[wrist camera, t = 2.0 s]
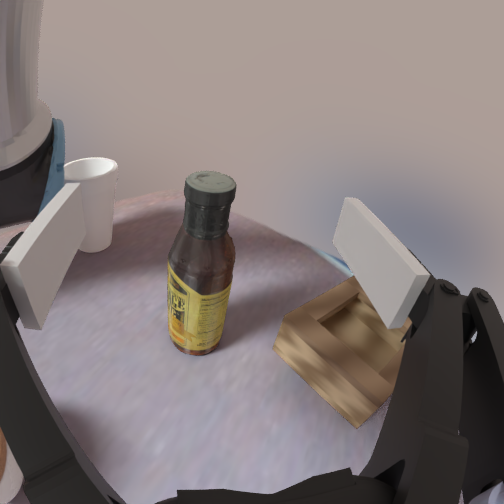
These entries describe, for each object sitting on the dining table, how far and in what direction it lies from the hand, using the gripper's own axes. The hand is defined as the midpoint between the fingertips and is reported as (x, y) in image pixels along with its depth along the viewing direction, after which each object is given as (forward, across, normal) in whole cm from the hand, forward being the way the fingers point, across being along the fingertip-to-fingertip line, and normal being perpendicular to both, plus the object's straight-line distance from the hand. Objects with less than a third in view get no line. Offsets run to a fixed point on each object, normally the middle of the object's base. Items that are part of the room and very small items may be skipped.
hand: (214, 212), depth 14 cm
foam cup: (+30, -17, -21) cm, 40 cm away
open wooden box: (+7, +19, -22) cm, 30 cm away
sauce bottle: (+11, 0, -22) cm, 25 cm away
